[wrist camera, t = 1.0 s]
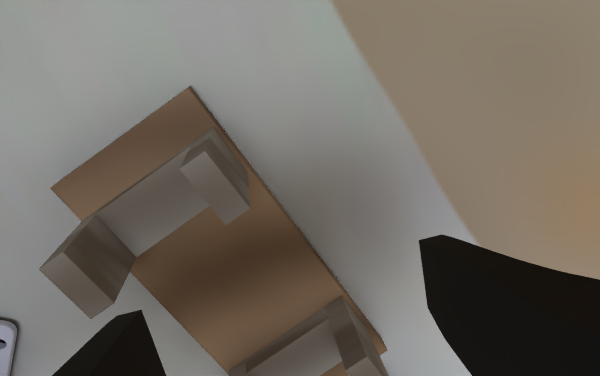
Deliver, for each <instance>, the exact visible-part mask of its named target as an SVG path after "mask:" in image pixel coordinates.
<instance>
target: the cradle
mask: <svg viewBox="0 0 600 376" xmlns="http://www.w3.org/2000/svg"><path fill="white" fill-rule="evenodd" d="M50 189H51V190H52V191H53V192H54V193H55V194H56V195H57V196H58V197H59V198H60V199H61V200H62V201H63V202H64V203H65V204H66V205H67V206H68V207H69V208H70V209H71V210H72V211H73V213H74V214H75V215H76V216H77V217H78V218H79V219H80V220H81V221H82V222H81V223H80V224H79V225H78V226H77V228H76V229H75V230H74V231H73V232H72V233H71V234H70V235H69V236H68V238H67V239H66V240H65V241H64V242H63V243H62V244H61V245H60V246H59V248H58V249H57V250H56V251H55V252H54V253H53V254H52V255H51V256H50V257H49V259H48V260H47V261H46V262H45V263H44V264H43V265H42V266H41V267H40V269H39V270H40V271H41V272H42V273H43V274H44V275H45V276H46V277H47V278H48V279H49V280H51V281H52V282H53V283H54V284H55V285H56V286H57V287H58V288H59V289H60V290H61V291H62V292H63V293H64V294H65V295H66V296H67V297H68V298H69V299H70V300H71V301H73V302H74V303H75V304H76V305H77V306H78V307H79V308H80V309H81V310H82V311H83V312H84V313H85V314H86V315H87V316H88V317H89V318H90V319H92V318H93V317H95V316H96V315H98V314H99V313H100V312H102V311H103V310H105V309H106V308H108V307H109V306H110V305H112V304H113V303H114V302H115V300H116V298H117V296H118V294H119V292H120V290H121V288H122V286H123V284H124V282H125V280H126V278H127V276H128V274H129V272H131V273H132V274H133V275H134V276H135V277H136V278H137V279H138V280H139V281H140V282H141V283H142V284H143V285H144V287H145V288H146V289H147V290H148V291H149V292H150V293H151V294H152V295H153V296H154V297H155V298H156V299H157V300H158V301H159V302H160V303H161V304H162V305H163V306H164V307H165V308H166V309H167V310H168V312H169V313H170V314H171V315H172V316H173V317H174V318H175V319H176V320H177V321H178V322H179V323H180V324H181V325H182V326H183V327H184V328H185V329H186V330H187V331H188V332H189V333H190V334H191V336H192V337H193V338H194V339H195V340H196V341H197V342H198V343H199V344H200V345H201V346H202V347H203V348H204V349H205V350H206V351H207V352H208V353H209V354H210V355H211V356H212V357H213V358H214V359H215V361H216V362H217V363H218V364H219V365H220V366H221V367H222V368H223V369H224V370H225V371H226V372H227V373H228V374H229V376H349V375H350V376H388V373H387V371H386V369H385V367H384V365H383V362H382V360H381V358H380V355H381V354H383V353H384V352H386V351H387V348H386V346H385V344H384V342H383V340H382V338H381V337H380V336H379V334H378V333H377V332H376V330H375V329H374V328H373V326H372V325H371V324H370V322H369V321H368V320H367V318H366V317H365V316H364V314H363V313H362V312H361V310H360V309H359V308H358V306H357V305H356V304H355V303H354V301H353V300H352V299H351V297H350V296H349V295H348V293H347V292H346V291H345V289H344V288H343V287H342V285H341V284H340V283H339V281H338V280H337V279H336V277H335V276H334V275H333V273H332V272H331V271H330V269H329V268H328V267H327V266H326V264H325V263H324V262H323V260H322V259H321V258H320V256H319V255H318V254H317V252H316V251H315V250H314V248H313V247H312V246H311V244H310V243H309V242H308V240H307V239H306V238H305V236H304V235H303V234H302V232H301V231H300V230H299V229H298V227H297V226H296V225H295V223H294V222H293V221H292V219H291V218H290V217H289V215H288V214H287V213H286V211H285V210H284V209H283V207H282V206H281V205H280V203H279V202H278V201H277V199H276V198H275V197H274V195H273V194H272V193H271V192H270V190H269V189H268V188H267V186H266V185H265V184H264V182H263V181H262V180H261V178H260V177H259V176H258V174H257V173H256V172H255V170H254V169H253V168H252V166H251V165H250V164H249V162H248V161H247V160H246V158H245V157H244V156H243V155H242V153H241V152H240V151H239V149H238V148H237V147H236V145H235V144H234V143H233V141H232V140H231V139H230V137H229V136H228V135H227V133H226V132H225V131H224V129H223V128H222V127H221V125H220V124H219V123H218V122H217V120H216V119H215V118H214V116H213V115H212V114H211V112H210V111H209V110H208V108H207V107H206V106H205V104H204V103H203V102H202V100H201V99H200V98H199V96H198V95H197V94H196V92H195V91H194V90H193V88H192V87H191V86H190V87H188V88H187V89H186V90H184V91H183V92H181V93H180V94H179V95H177V96H176V97H175V98H173V99H172V100H170V101H169V102H168V103H166V104H165V105H164V106H162V107H161V108H159V109H158V110H157V111H155V112H154V113H153V114H151V115H150V116H148V117H147V118H146V119H144V120H143V121H142V122H140V123H139V124H137V125H136V126H135V127H133V128H132V129H131V130H129V131H128V132H126V133H125V134H124V135H122V136H121V137H120V138H118V139H117V140H115V141H114V142H113V143H111V144H110V145H108V146H107V147H106V148H104V149H103V150H102V151H100V152H99V153H97V154H96V155H95V156H93V157H92V158H91V159H89V160H88V161H86V162H85V163H84V164H82V165H81V166H80V167H78V168H77V169H75V170H74V171H73V172H71V173H70V174H69V175H67V176H66V177H64V178H63V179H62V180H60V181H59V182H58V183H56V184H55V185H54V186H52V187H51V188H50Z"/></svg>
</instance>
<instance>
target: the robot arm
mask: <svg viewBox="0 0 600 376" xmlns="http://www.w3.org/2000/svg"><path fill="white" fill-rule="evenodd" d="M419 244H420V252H421V260H422V267H423V275H424V283H425V290H426V298H427V305H428V309H429V311H430V313H431V314H432V316H433V318H434V320H435V322H436V324H437V326H438V327H439V329H440V331H441V333H442V334H443V336H444V338H445V340H446V341H447V342H448V344H449V345H450V346H451V348H452V349H453V351H454V352H455V353H456V355H457V356H458V357H459V359H460V360H461V361H462V363H463V364H464V365H465V367H466V368H467V369H468V371H469V372H470V373H471V375H472V376H600V280H598V279H594V278H589V277H584V276H579V275H574V274H569V273H565V272H561V271H557V270H553V269H549V268H546V267H542V266H539V265H535V264H531V263H528V262H525V261H521V260H518V259H514V258H512V257H509V256H506V255H502V254H500V253H496V252H493V251H491V250H488V249H485V248H482V247H479V246H476V245H473V244H471V243H468V242H465V241H462V240H459V239H456V238H453V237H449V236H445V235H438V236H434V237H430V238H426V239H422V240H419ZM16 336H17V328H16V326H15V325H14V324H13V323H11V322H8V321H4V320H0V339H2V340H4V341H5V342H6V343H1V342H0V376H10V371H11V365H12V359H13V354H14V348H15V342H16ZM52 376H166V374H165V371H164V369H163V366H162V363H161V361H160V358H159V355H158V353H157V350H156V347H155V345H154V342H153V339H152V337H151V334H150V331H149V329H148V326H147V323H146V321H145V318H144V315H143V313H142V310H139V311H135V312H131V313H127V314H123V315H119V316H116V317H115V318H114V319H112V320H111V321H110V322H109V323H107V324H106V325H105V326H104V327H103V328H102V329H101V330H100V331H99V332H98V333H97V334H95V335H94V336H93V337H92V338H91V339H90V340H89V341H88V342H87V343H86V344H85V345H84V346H83V347H82V348H81V349H80V350H79V351H78V352H77V353H76V354H74V355H73V356H72V357H71V358H70V359H69V360H68V361H67V362H66V363H65V364H64V365H63V366H62V367H61V368H60V369H59V370H58V371H57V372H55V373H54V374H53V375H52Z"/></svg>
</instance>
